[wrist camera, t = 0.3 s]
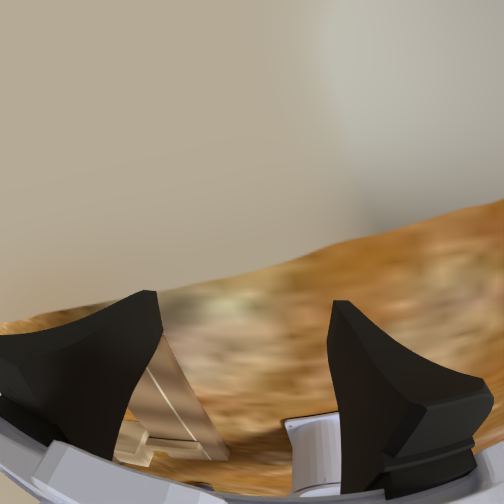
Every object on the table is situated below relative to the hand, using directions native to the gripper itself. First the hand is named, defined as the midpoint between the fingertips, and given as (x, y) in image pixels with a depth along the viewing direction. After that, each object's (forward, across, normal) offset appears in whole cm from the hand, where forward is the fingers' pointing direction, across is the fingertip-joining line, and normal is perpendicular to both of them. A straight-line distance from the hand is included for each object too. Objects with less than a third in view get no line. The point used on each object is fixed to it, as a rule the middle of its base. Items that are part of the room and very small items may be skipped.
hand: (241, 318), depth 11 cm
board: (+10, +10, +21) cm, 25 cm away
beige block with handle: (+10, +13, +27) cm, 32 cm away
